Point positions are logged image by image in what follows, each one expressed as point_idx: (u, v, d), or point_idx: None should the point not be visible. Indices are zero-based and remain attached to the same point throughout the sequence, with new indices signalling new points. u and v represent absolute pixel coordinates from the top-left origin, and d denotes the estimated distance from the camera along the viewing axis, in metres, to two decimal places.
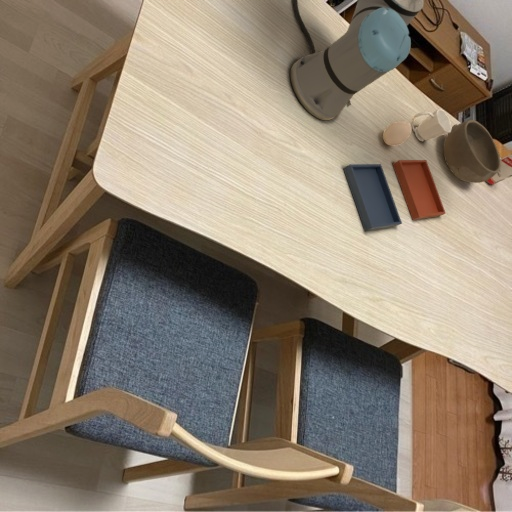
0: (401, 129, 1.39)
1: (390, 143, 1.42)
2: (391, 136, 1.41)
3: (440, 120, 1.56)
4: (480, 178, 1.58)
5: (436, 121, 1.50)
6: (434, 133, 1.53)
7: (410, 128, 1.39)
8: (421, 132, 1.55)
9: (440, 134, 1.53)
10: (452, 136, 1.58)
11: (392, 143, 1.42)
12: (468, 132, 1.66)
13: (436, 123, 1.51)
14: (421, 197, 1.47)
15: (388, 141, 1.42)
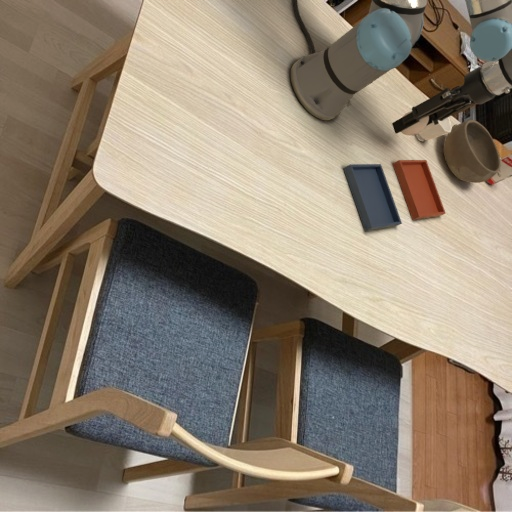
0: None
1: (406, 132, 1.39)
2: None
3: None
4: (480, 178, 1.58)
5: None
6: (434, 133, 1.53)
7: (428, 117, 1.36)
8: (421, 132, 1.55)
9: (440, 134, 1.53)
10: (452, 136, 1.58)
11: (408, 132, 1.38)
12: (468, 132, 1.66)
13: None
14: (421, 197, 1.47)
15: (404, 130, 1.38)
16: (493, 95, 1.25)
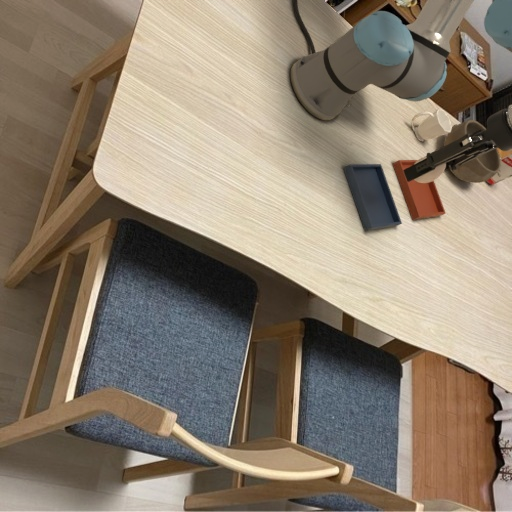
0: None
1: (420, 180, 1.22)
2: None
3: (440, 120, 1.56)
4: (480, 178, 1.58)
5: (436, 121, 1.50)
6: (434, 133, 1.53)
7: (445, 163, 1.19)
8: (421, 132, 1.55)
9: (440, 134, 1.53)
10: (452, 136, 1.58)
11: (422, 180, 1.21)
12: (468, 132, 1.66)
13: (436, 123, 1.51)
14: (421, 197, 1.47)
15: (418, 178, 1.21)
16: None
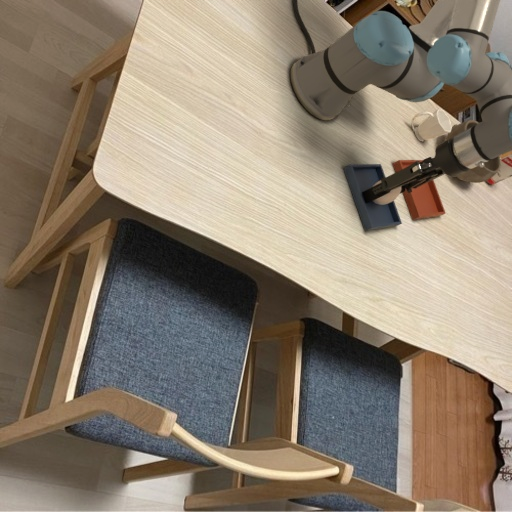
0: None
1: (377, 202, 1.29)
2: None
3: (440, 120, 1.56)
4: (480, 178, 1.58)
5: (436, 121, 1.50)
6: (434, 133, 1.53)
7: (400, 187, 1.26)
8: (421, 132, 1.55)
9: (440, 134, 1.53)
10: (452, 136, 1.58)
11: (380, 202, 1.29)
12: None
13: (436, 123, 1.51)
14: (421, 197, 1.47)
15: (375, 200, 1.29)
16: (467, 168, 1.16)
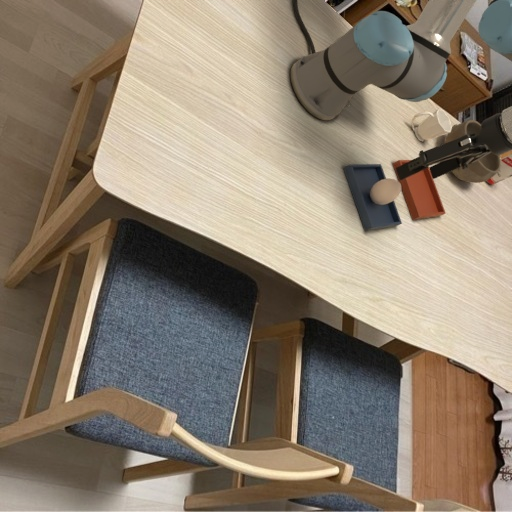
0: (389, 188, 1.26)
1: (377, 202, 1.29)
2: (378, 195, 1.28)
3: (440, 120, 1.56)
4: (480, 178, 1.58)
5: (436, 121, 1.50)
6: (434, 133, 1.53)
7: (400, 187, 1.26)
8: (421, 132, 1.55)
9: (440, 134, 1.53)
10: (452, 136, 1.58)
11: (380, 202, 1.29)
12: (468, 132, 1.66)
13: (436, 123, 1.51)
14: (421, 197, 1.47)
15: (375, 200, 1.29)
16: None
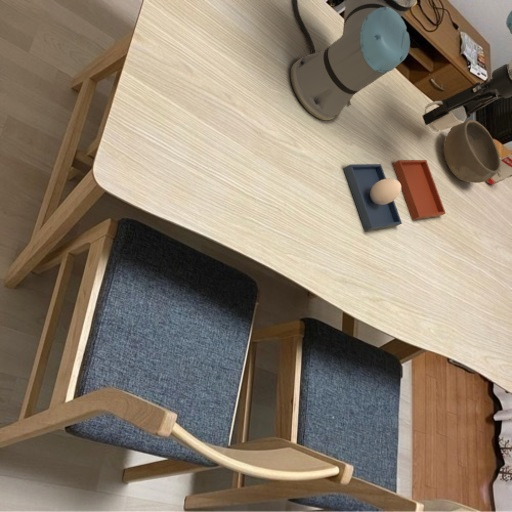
0: (389, 188, 1.26)
1: (377, 202, 1.29)
2: (378, 195, 1.28)
3: (455, 110, 1.51)
4: (480, 178, 1.58)
5: None
6: (447, 124, 1.49)
7: (400, 187, 1.26)
8: (434, 122, 1.51)
9: (453, 124, 1.49)
10: (452, 136, 1.58)
11: (380, 202, 1.29)
12: (468, 132, 1.66)
13: None
14: (421, 197, 1.47)
15: (375, 200, 1.29)
16: None
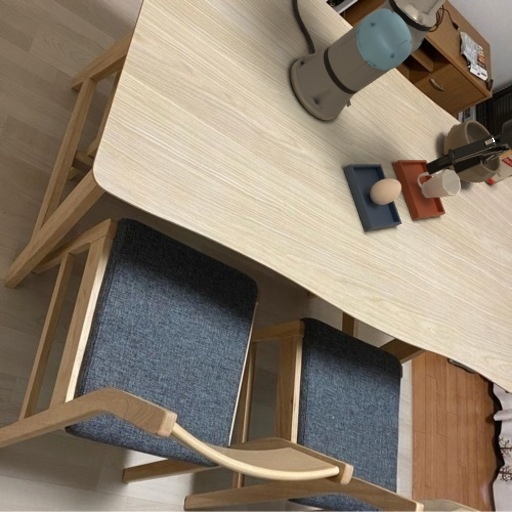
0: (389, 188, 1.26)
1: (377, 202, 1.29)
2: (378, 195, 1.28)
3: (450, 179, 1.45)
4: (480, 178, 1.58)
5: (441, 184, 1.41)
6: (439, 195, 1.44)
7: (400, 187, 1.26)
8: (426, 190, 1.46)
9: (446, 196, 1.44)
10: (452, 136, 1.58)
11: (380, 202, 1.29)
12: (468, 132, 1.66)
13: (440, 186, 1.41)
14: (421, 197, 1.47)
15: (375, 200, 1.29)
16: None
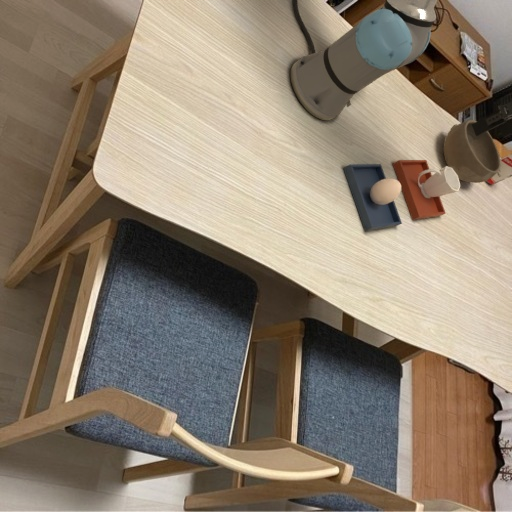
0: (389, 188, 1.26)
1: (377, 202, 1.29)
2: (378, 195, 1.28)
3: (448, 177, 1.47)
4: (480, 178, 1.58)
5: (444, 180, 1.42)
6: (441, 192, 1.44)
7: (400, 187, 1.26)
8: (427, 189, 1.46)
9: (447, 192, 1.44)
10: (452, 136, 1.58)
11: (380, 202, 1.29)
12: (468, 132, 1.66)
13: (443, 181, 1.42)
14: (421, 197, 1.47)
15: (375, 200, 1.29)
16: None
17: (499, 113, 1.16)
